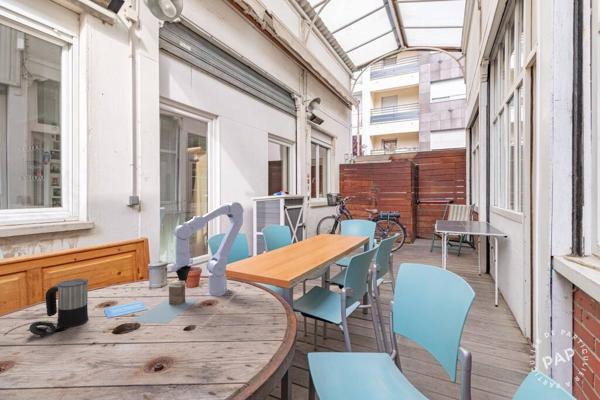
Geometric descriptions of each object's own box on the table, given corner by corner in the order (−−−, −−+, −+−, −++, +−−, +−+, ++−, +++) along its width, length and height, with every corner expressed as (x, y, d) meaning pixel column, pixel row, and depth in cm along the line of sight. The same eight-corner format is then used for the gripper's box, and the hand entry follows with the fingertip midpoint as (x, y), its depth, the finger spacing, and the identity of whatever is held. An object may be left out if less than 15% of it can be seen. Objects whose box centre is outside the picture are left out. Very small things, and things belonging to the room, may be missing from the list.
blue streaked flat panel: (141, 303, 128) (141, 300, 128) (147, 311, 119) (147, 308, 119) (103, 311, 120) (103, 308, 120) (107, 321, 110) (107, 317, 110)
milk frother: (93, 316, 114) (92, 277, 114) (75, 334, 99) (74, 290, 99) (48, 320, 110) (47, 280, 109) (23, 340, 95) (22, 294, 94)
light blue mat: (168, 299, 132) (168, 298, 132) (198, 300, 130) (198, 299, 130) (131, 322, 108) (131, 321, 108) (167, 324, 106) (167, 323, 106)
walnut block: (174, 301, 128) (174, 280, 128) (185, 301, 127) (185, 280, 127) (169, 304, 124) (168, 283, 124) (180, 305, 123) (180, 283, 123)
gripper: (182, 249, 138) (183, 278, 138) (164, 255, 124) (164, 288, 124) (197, 249, 137) (197, 279, 137) (180, 256, 123) (180, 288, 123)
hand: (182, 283), depth 130 cm, fingers closed
